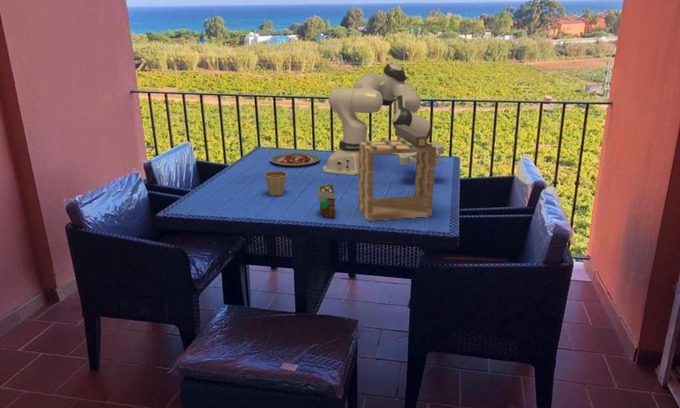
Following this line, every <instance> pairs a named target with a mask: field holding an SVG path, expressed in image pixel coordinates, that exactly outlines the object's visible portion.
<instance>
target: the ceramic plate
mask: <svg viewBox="0 0 680 408" xmlns="http://www.w3.org/2000/svg"><path fill="white" fill-rule="evenodd" d="M320 160H321V157H320V156H319V155H317V154H313V153H310V152H285V153H278V154H275V155H272V156H270V158H269V161H270V162H271V163H274V164H277V165H281V166H285V167H300V166H308V165H310V164H313V163H315V164H316V162H317V163H318V162H319V161H320Z"/></svg>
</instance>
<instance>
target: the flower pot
mask: <svg viewBox="0 0 680 408" xmlns="http://www.w3.org/2000/svg"><path fill="white" fill-rule="evenodd" d="M263 176H264V177H265V180H266V187H267V192H268V195H269V196H272V197H275V196H277V197H280V196H284V193H285V186H286V185H285V183H286V179H287V177H288V172H286V171H280V170H272V171H271V170H270V171H267V172H265V173H264V174H263Z"/></svg>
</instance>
